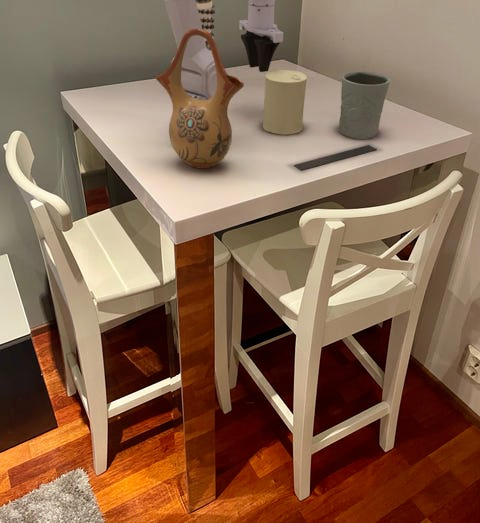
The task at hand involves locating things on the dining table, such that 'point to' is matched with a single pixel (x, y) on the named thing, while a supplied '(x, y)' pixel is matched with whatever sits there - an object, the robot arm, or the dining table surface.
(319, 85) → the dining table surface
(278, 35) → the robot arm
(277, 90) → the can
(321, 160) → the strip
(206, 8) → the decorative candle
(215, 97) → the ceramic vessel
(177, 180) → the dining table surface
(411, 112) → the dining table surface
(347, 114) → the embossed green cup
